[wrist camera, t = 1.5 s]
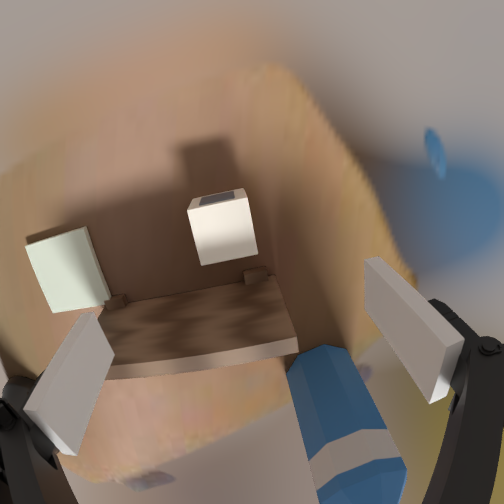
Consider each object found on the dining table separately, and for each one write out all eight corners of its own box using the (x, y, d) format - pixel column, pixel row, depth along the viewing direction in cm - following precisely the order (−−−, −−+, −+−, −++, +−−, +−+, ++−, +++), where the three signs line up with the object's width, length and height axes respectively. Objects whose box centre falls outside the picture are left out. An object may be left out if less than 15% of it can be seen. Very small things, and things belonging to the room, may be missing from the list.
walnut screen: (113, 326, 33) (83, 390, 23) (100, 298, 32) (63, 358, 22) (278, 297, 34) (300, 362, 23) (273, 264, 32) (295, 324, 22)
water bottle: (288, 347, 36) (344, 540, 13) (357, 339, 37) (446, 501, 14) (284, 396, 40) (322, 557, 17) (345, 387, 40) (406, 531, 17)
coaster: (55, 309, 32) (53, 313, 31) (28, 244, 28) (25, 246, 28) (113, 299, 32) (111, 303, 31) (86, 225, 29) (83, 228, 28)
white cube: (204, 245, 31) (201, 265, 26) (192, 197, 29) (186, 208, 24) (252, 235, 31) (258, 254, 26) (243, 186, 29) (247, 195, 24)
